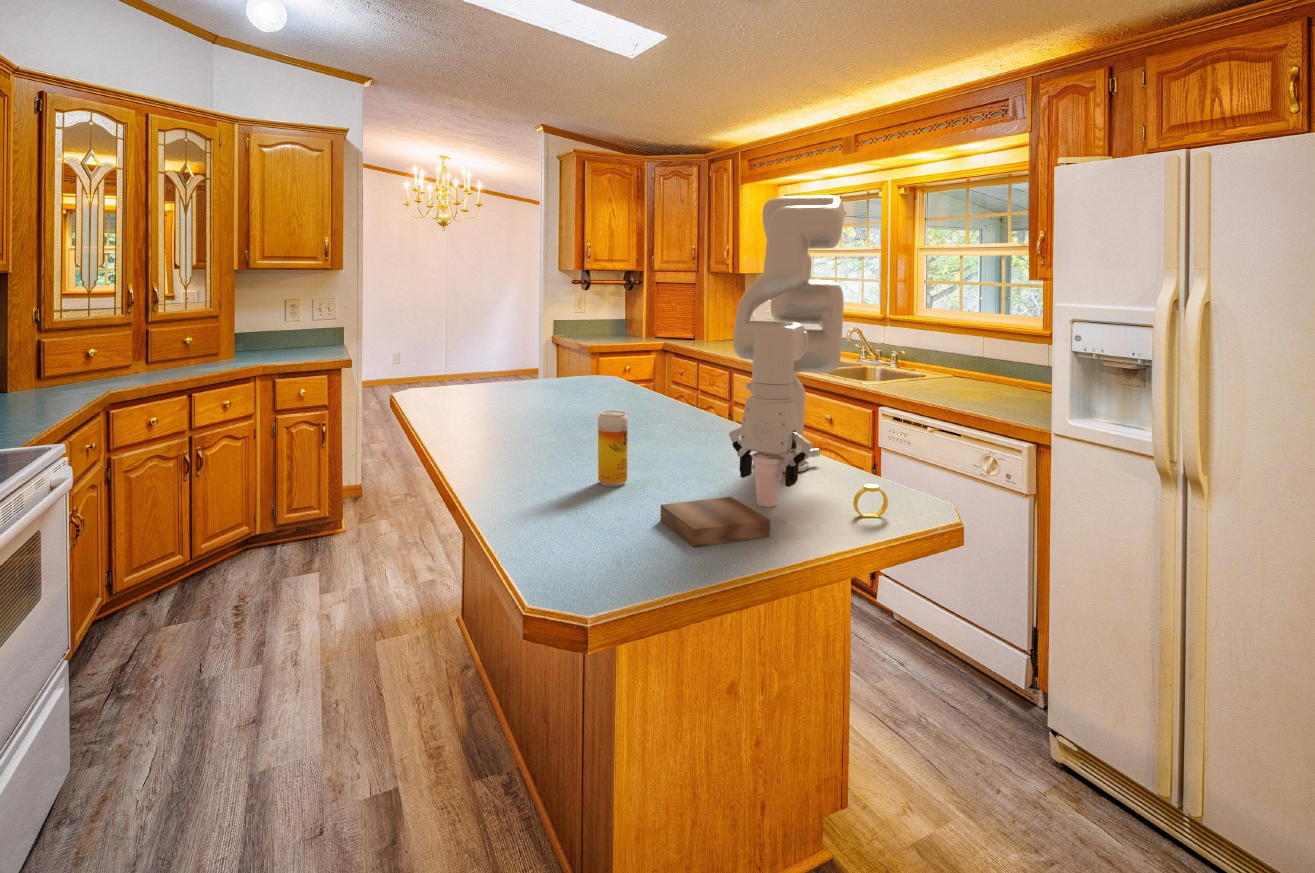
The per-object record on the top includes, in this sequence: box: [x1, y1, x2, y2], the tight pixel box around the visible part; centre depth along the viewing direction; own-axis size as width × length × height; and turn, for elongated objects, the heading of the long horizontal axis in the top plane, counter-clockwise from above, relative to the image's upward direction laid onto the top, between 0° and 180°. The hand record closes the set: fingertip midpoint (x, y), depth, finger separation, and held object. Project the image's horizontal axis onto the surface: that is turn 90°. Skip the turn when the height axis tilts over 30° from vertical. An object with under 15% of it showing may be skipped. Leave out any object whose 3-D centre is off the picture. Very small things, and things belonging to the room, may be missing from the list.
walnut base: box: [660, 496, 771, 548], centre depth 126 cm, size 14×14×3 cm
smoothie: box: [751, 452, 786, 508], centre depth 139 cm, size 6×6×14 cm
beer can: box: [597, 410, 628, 488], centre depth 151 cm, size 6×6×15 cm
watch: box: [853, 483, 889, 518], centre depth 133 cm, size 6×3×6 cm, turn 93°
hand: (767, 480), depth 139 cm, fingers open, 9 cm apart
